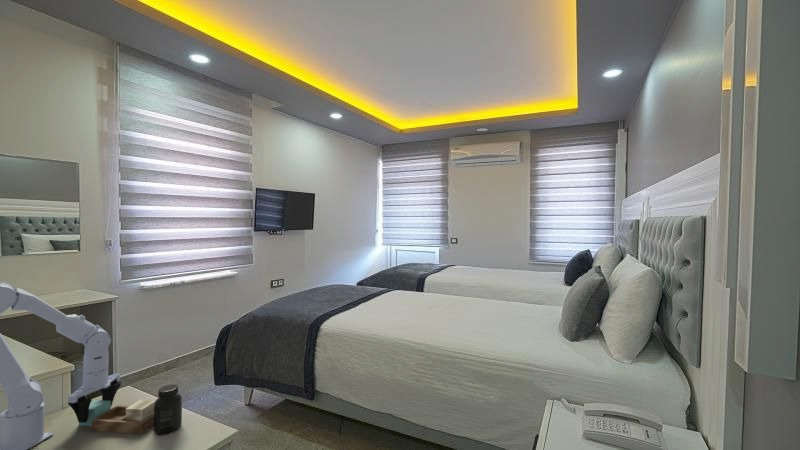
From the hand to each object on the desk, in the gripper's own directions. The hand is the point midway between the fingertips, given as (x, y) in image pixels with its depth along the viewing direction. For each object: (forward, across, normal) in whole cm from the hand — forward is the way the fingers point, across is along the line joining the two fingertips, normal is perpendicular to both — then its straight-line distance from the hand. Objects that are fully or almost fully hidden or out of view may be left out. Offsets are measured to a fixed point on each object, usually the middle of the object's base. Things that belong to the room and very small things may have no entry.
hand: (95, 414), depth 103 cm
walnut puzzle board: (+2, -1, -11) cm, 12 cm away
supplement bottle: (+2, -2, -24) cm, 25 cm away
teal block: (+2, 0, 0) cm, 2 cm away
